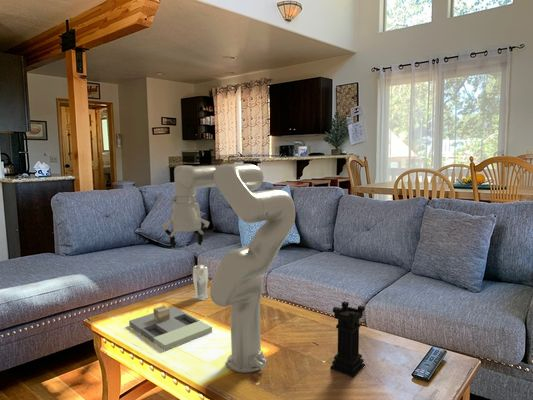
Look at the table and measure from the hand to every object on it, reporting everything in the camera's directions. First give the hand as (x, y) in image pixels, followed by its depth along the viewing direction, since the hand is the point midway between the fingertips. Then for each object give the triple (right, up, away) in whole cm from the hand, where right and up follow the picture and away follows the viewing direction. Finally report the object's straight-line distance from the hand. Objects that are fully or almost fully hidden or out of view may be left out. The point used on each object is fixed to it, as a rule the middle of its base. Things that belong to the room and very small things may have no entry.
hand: (186, 245), depth 150 cm
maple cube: (-12, -31, +12) cm, 35 cm away
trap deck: (-8, -33, +8) cm, 35 cm away
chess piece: (+55, -37, -21) cm, 70 cm away
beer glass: (-1, -29, +40) cm, 49 cm away
